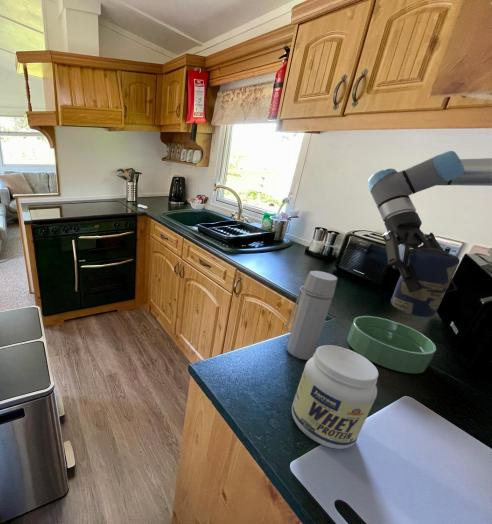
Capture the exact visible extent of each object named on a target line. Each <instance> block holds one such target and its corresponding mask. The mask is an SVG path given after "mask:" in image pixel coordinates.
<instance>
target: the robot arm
mask: <svg viewBox="0 0 492 524" xmlns="http://www.w3.org/2000/svg"><path fill="white" fill-rule="evenodd" d="M367 186H368V189H369V191H370V195H371V196H372V199H373V201H374V203H375V205H376V207H377V210H378V212H379V214H380V217H381V219H382V221H383V224H384V226H385V229H386V231H387V232H385V233H384V234H382V239H383V241H384V245H385V249H386V250H385V251H386V257H387V265H388V266H390V267H392V269H393V270H398V271H399V274H400V276H401V277H402V278H403V279H404V281H405V283H406V286H407V288H408V291H409V292H414V291H417V290H420V289H422V288H421V285H420V283H419V281H418V279H417V276H416V274H415V272H414V269H413V267H412V265H408V257H409V254H410V248H412V250H413V249H428V248H432V249H439V250H442V251H445V250H444V248H443V247H442V246H441V244H440V243H439V242H438V240H437V239H436V237H435V234H434V232H429V233H424V232H423V231H422V229H420V228H421V226H422V223H423V222H422V220H421V218H420V216H419V213H418V212H417V209H416V207H415V205H414V203H413V201H412V200H411V197H410V196H411V195H414V194H417V193H420V192H422V191H425V190H427V189H431V188H433V187H436V186H471V187H472V186H473V187H475V186H477V187H478V186H479V187H480V186H481V187H487V186H489V187H492V157H488V158H487V157H486V158H460V157H459V155H458V154H457V153H456V151H453V150H448V151H445V152H443V153H440V154H437V155H435V156H433V157H430V158H429V159H426V160H423V161H421V162H419V163H417V164H414V165H412V166H410V167H408V168H406V169H403V170H399V171H397V170H396V169H395V168H386V169H382V170H379V171H377V172H375V173H374V174H372V175H371V176H370V177H369V178H368V181H367ZM435 251H437V250H435ZM407 265H408V266H407ZM454 291H458V287H457V285H456V283H455V281H454V279H453V278H452V280H451V282H450V284H449V287H448V289H447V290H446V292H445V294H447V293H450V292H454Z"/></svg>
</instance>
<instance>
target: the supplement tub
mask: <svg viewBox="0 0 492 524" xmlns="http://www.w3.org/2000/svg"><path fill="white" fill-rule="evenodd" d="M378 378H379V371H378V369H377V367H376V366H375V365H374V364H373V362H372V361H370V360H368V359H366V358H365V357H363V356H362V355H360V354H359V353H357V352H356V351H355V350H352V349H348V348H345V347H343V346H339V345H332V344H325V345H320V346H318V347H316V350H315V353H314V355H313V357H312V358H310V359H308V360H306V362H305V365H304V370H303V372H302V374H301V377H300V381H299V384H298V387H297V389H296V392H295V395H294V398H293V402H292V405H291V415H292V418H293V420H294V422H295V424H296V426H297V427H298V428H299V429H300V431H301V432H302V433H303V434H305V435H306V436H307V437H308V438H309V439H311V440H313V442H316V443H318V444H320V445H322V446H324V447H327V448H330V449H336V450H337V449H338V450H343V449H344V450H345V449H348V448H351V447H352V446H353V445H354V444H355V443H356V442H357V440H358V438H359V435H360V433H361V431H362V428H363V427H364V424H365V423H366V420H367V418H368V416H369V413H370V411H371V409H372V406H373V405H374V402H375V400H376V399H377V395H378V387H377V382H378Z"/></svg>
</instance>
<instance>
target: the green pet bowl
mask: <svg viewBox="0 0 492 524" xmlns="http://www.w3.org/2000/svg"><path fill="white" fill-rule="evenodd" d="M346 341H347V344H348V345H349V347H351V349H352V350H353V351H354V352H356V353H358V354H360V355H361V356H363V357H365V358H366V359H367V360H369V361H370V362H371V363H374V364H376V365H379V366H381V367H383V368H387V369H388V370H389V369H390V370H393V371H396V372H400V373H406V374H414V375H415V374H422V373H424V372H425V371H426V370H428V368H429V366H430V364H431V361H432V359H433V357H434V355H435V354H436V352H437V345H436V344H435V343H434V342H433V341H432V340H431V339H430V338H429V337H427V336H426V335H424V334H423V333H422V332H419V331H418V330H416V329H414V328H413V327H410V326H407V325H404V324H403V323H400V322H397V321H394V320H391V319H387V318H382V317H378V316H371V315H361V316H357V317H354V318H353V321H352V323H351V326H350V328H349V332H348V334H347V337H346Z"/></svg>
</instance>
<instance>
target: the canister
mask: <svg viewBox="0 0 492 524" xmlns="http://www.w3.org/2000/svg"><path fill="white" fill-rule="evenodd" d="M435 250H437V251H435ZM459 264H460V258H459V257H458V256H456V255H454V254H451V253H449V252H446V251H445V250H444V251H442V250H439V249H432V248H428V249H413V248H412V249H411V250H410V251H409V257H408V265H412V267H413V269H414V272H415V274H416V276H417V279H418V281H419V283H420V285H421V288H422V289H420V290H417V291H414V292H409V291H408V288H407V286H406V283H405V281H404V279H403V278H402V277H401V275H400V276H399V278H398V281H397V283H396V286H395V288H394V291H393V293H392V296H391V298H390V304H391V305H392V306H393V307H394V308H395V309H397V310H398V311H401V312H402V313H404V314H407V315H411V316H416V317H421V318H430V317H433V316H435V314H436V313H437V311H438V309H439V307H440V305H441V303H442V300H443V298H444V297H445V294H446V293H445V292H446V290H447V289H448V287H449V284H450V282H451V280H452V279H453V278H454V276H455V273H456V271H457V269H458V267H459ZM408 265H407V266H408Z"/></svg>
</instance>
